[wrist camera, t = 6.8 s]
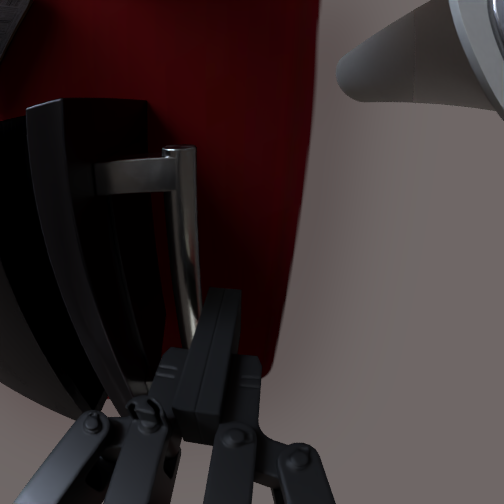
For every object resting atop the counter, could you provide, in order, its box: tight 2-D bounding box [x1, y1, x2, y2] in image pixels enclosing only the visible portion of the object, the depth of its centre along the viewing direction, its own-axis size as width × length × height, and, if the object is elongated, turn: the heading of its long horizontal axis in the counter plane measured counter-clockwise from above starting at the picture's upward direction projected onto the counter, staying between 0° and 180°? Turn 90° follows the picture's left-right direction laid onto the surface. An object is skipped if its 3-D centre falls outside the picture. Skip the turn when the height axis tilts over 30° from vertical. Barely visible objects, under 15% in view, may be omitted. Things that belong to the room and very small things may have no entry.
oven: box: [0, 115, 108, 420], centre depth 17 cm, size 16×20×14 cm
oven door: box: [26, 98, 203, 417], centre depth 17 cm, size 6×20×14 cm, turn 177°
